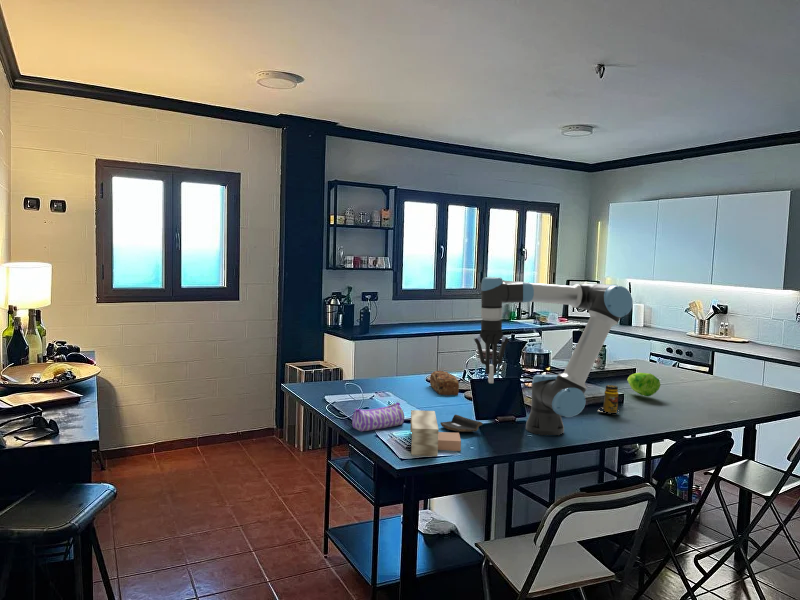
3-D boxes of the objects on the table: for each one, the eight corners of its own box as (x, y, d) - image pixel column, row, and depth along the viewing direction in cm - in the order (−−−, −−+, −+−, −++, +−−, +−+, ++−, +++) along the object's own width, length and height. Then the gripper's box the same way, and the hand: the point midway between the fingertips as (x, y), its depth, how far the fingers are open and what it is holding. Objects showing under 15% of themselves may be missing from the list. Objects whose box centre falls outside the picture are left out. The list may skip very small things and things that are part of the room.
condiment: (615, 414, 270) (617, 388, 269) (596, 411, 274) (598, 385, 273) (619, 411, 276) (621, 385, 275) (601, 408, 280) (602, 383, 279)
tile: (458, 443, 222) (459, 432, 221) (460, 452, 212) (461, 441, 211) (420, 441, 222) (421, 431, 222) (421, 450, 212) (421, 439, 212)
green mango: (640, 389, 324) (641, 367, 323) (664, 398, 305) (666, 375, 304) (617, 389, 321) (619, 367, 320) (640, 398, 302) (642, 375, 301)
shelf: (433, 435, 229) (434, 411, 228) (437, 456, 205) (438, 429, 204) (410, 434, 229) (411, 410, 228) (411, 455, 205) (412, 428, 204)
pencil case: (392, 421, 246) (392, 399, 245) (407, 427, 239) (408, 404, 238) (348, 430, 232) (349, 407, 231) (363, 437, 225) (364, 412, 224)
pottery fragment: (437, 426, 238) (438, 415, 238) (457, 424, 246) (458, 414, 246) (464, 434, 227) (465, 423, 227) (484, 432, 234) (486, 421, 234)
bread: (429, 388, 310) (430, 369, 309) (449, 388, 312) (450, 369, 311) (438, 397, 291) (439, 377, 290) (459, 397, 293) (460, 377, 293)
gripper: (506, 317, 223) (506, 380, 225) (472, 318, 223) (471, 380, 225) (511, 320, 216) (510, 384, 218) (475, 320, 215) (474, 384, 217)
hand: (490, 382), depth 221 cm, fingers closed
